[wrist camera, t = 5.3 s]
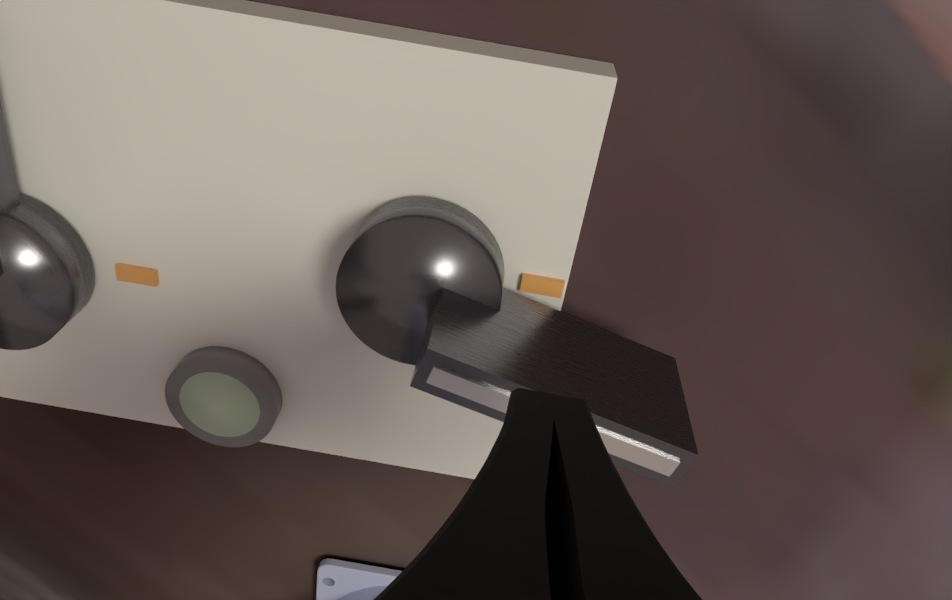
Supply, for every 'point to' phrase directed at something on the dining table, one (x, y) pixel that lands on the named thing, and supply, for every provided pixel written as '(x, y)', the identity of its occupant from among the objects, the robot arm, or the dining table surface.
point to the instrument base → (276, 206)
